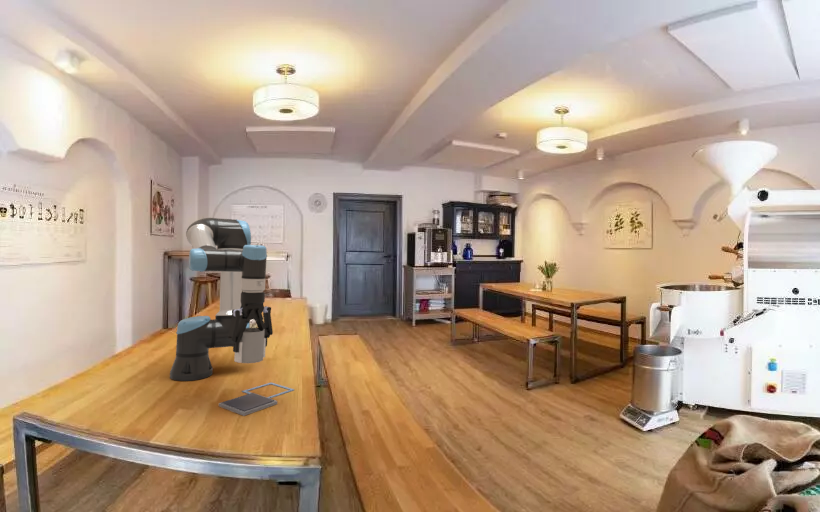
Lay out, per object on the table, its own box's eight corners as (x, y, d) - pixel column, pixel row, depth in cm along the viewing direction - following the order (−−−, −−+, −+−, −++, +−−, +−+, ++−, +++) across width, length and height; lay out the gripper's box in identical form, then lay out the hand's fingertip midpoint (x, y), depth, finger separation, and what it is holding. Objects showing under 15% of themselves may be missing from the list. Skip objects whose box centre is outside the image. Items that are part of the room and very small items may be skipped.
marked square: (241, 391, 147) (241, 391, 147) (271, 383, 158) (271, 382, 158) (265, 399, 140) (265, 399, 140) (294, 390, 151) (294, 389, 151)
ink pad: (218, 406, 133) (218, 402, 133) (252, 395, 144) (252, 391, 144) (243, 415, 126) (243, 411, 126) (277, 403, 137) (277, 400, 137)
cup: (253, 364, 130) (255, 333, 130) (230, 361, 132) (232, 331, 132) (268, 358, 138) (269, 328, 138) (246, 355, 140) (247, 327, 140)
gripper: (231, 293, 124) (228, 367, 124) (285, 290, 142) (283, 355, 142) (216, 291, 128) (213, 363, 128) (271, 288, 146) (268, 351, 146)
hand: (250, 359), depth 135 cm, fingers closed on cup, 8 cm apart
